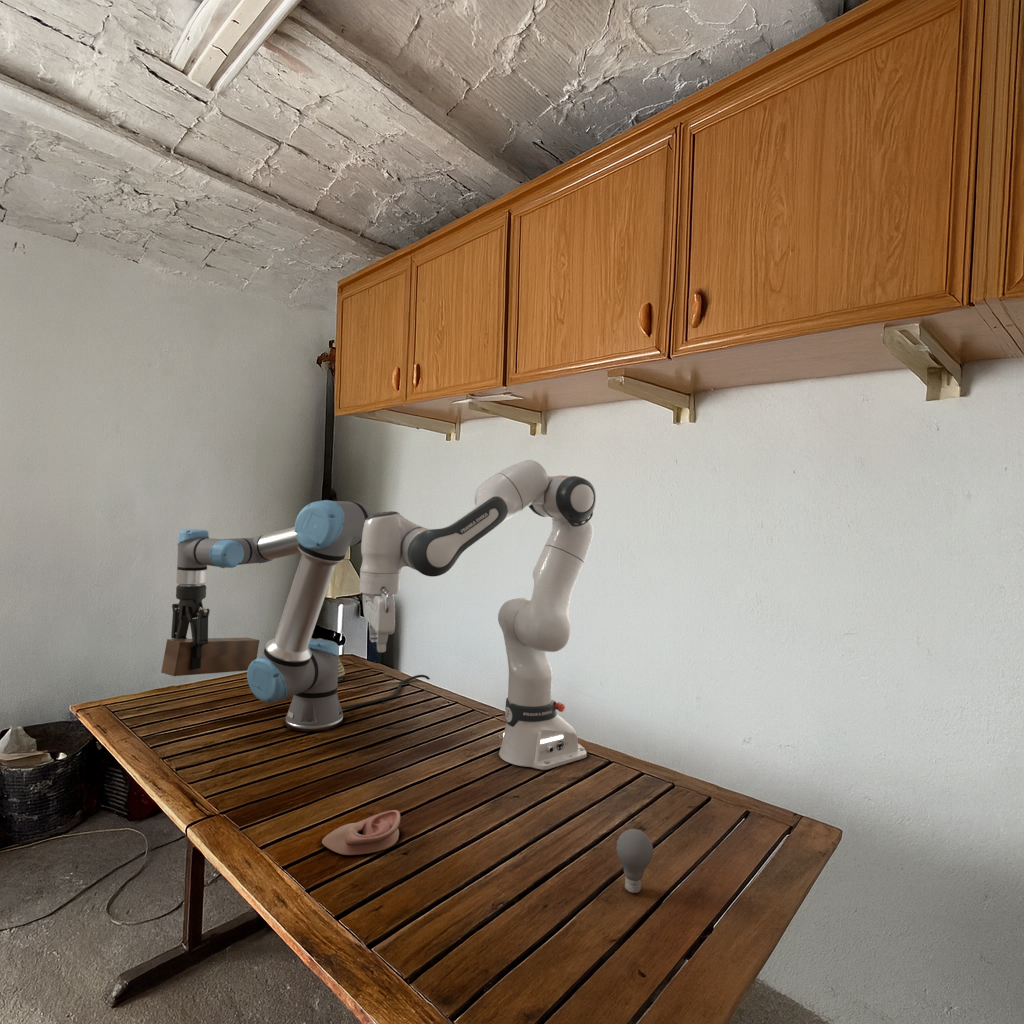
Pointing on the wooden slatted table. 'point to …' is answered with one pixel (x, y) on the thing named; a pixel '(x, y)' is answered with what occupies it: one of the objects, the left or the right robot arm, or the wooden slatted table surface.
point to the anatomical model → (365, 835)
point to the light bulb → (634, 857)
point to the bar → (210, 656)
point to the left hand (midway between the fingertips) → (188, 666)
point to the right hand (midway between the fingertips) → (377, 646)
